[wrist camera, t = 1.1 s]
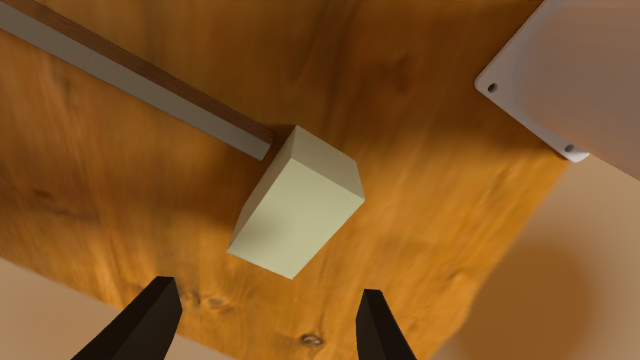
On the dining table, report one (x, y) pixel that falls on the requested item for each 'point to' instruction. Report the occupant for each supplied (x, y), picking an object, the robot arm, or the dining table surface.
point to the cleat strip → (132, 75)
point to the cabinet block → (297, 205)
